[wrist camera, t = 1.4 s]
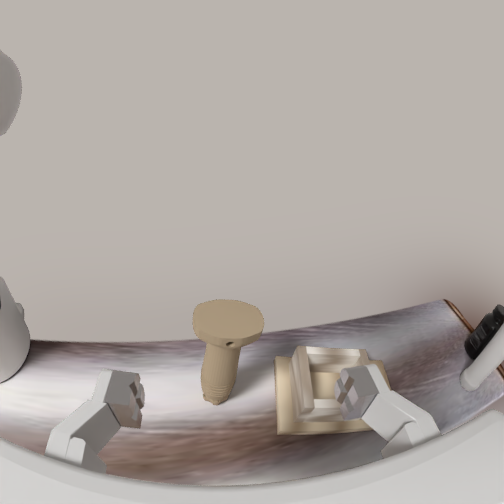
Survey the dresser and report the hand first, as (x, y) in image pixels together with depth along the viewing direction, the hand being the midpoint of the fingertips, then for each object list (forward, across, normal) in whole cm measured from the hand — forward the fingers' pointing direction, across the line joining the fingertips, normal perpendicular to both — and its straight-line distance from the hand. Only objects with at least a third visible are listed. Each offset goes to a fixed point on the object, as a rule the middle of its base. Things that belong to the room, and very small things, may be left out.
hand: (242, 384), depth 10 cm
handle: (+15, +1, +22) cm, 27 cm away
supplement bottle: (+18, -54, +27) cm, 63 cm away
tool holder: (+14, -16, +24) cm, 32 cm away
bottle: (+11, -45, +27) cm, 54 cm away
